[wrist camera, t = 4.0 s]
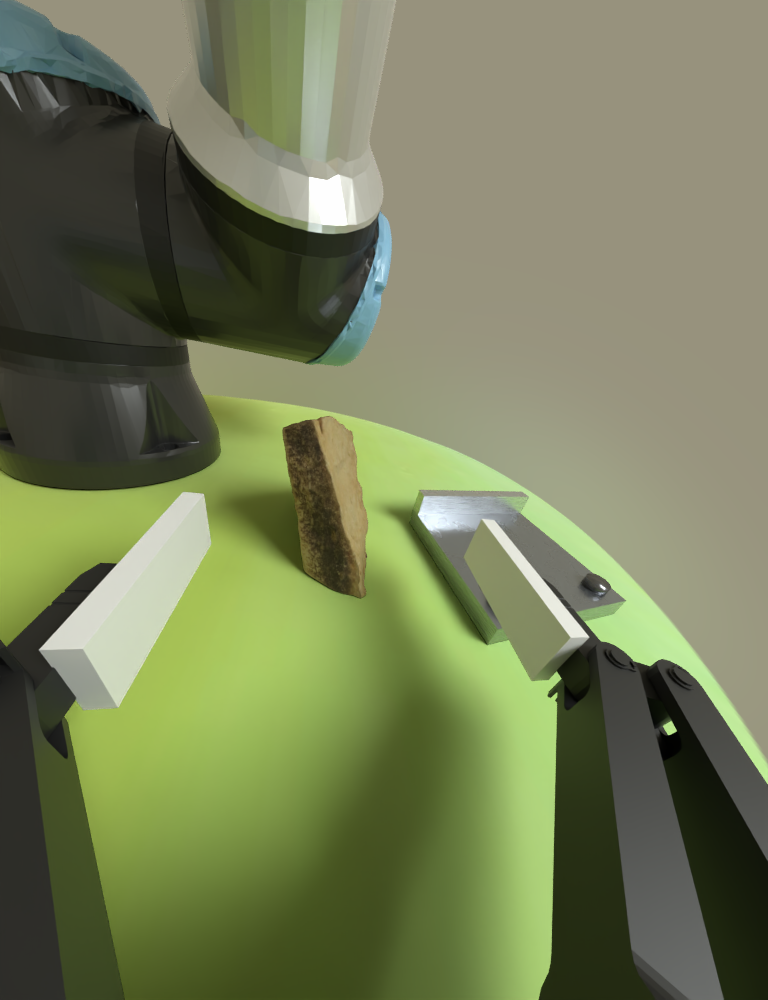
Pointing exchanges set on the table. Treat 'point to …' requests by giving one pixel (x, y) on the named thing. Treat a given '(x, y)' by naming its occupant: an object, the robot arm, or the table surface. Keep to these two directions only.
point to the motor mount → (456, 517)
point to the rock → (328, 503)
